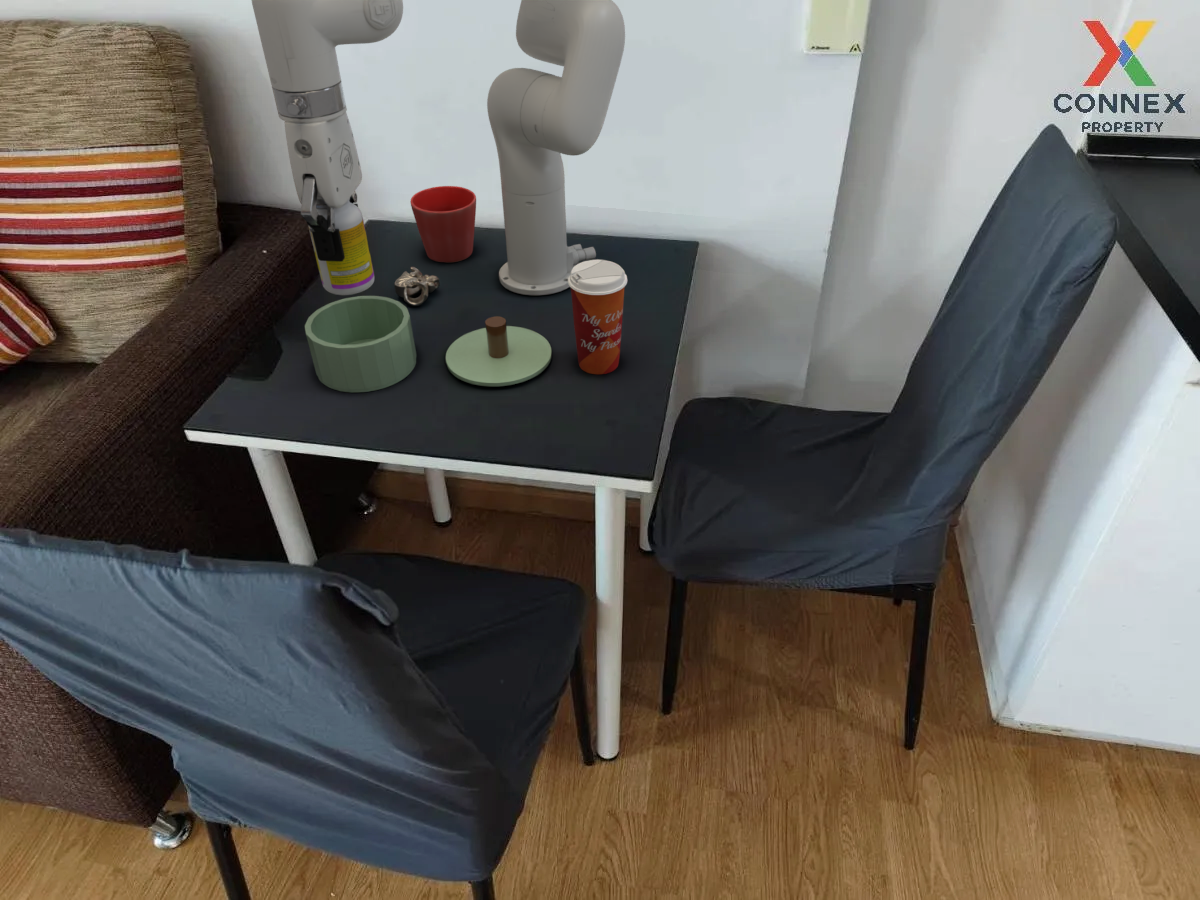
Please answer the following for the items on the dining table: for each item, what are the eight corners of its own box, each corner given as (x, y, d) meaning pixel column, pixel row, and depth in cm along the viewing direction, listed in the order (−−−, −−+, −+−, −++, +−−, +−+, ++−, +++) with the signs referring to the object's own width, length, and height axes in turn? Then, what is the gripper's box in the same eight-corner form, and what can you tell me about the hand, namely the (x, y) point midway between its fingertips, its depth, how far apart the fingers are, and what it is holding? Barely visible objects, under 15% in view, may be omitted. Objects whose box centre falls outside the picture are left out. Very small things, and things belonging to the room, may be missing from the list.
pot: (368, 329, 127) (359, 286, 122) (436, 357, 121) (430, 313, 116) (295, 372, 118) (283, 327, 114) (364, 404, 112) (354, 358, 108)
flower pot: (492, 243, 149) (487, 189, 142) (464, 271, 141) (457, 215, 134) (437, 235, 151) (430, 181, 145) (406, 262, 143) (397, 206, 137)
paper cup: (586, 384, 115) (584, 290, 106) (561, 357, 120) (557, 265, 111) (637, 369, 118) (639, 276, 109) (611, 343, 123) (610, 252, 114)
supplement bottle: (386, 283, 112) (368, 187, 104) (344, 302, 108) (322, 204, 100) (354, 268, 115) (335, 174, 107) (312, 286, 111) (289, 190, 103)
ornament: (445, 303, 132) (442, 281, 130) (400, 311, 131) (397, 289, 128) (436, 280, 138) (432, 259, 136) (393, 287, 137) (389, 266, 134)
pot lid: (493, 323, 128) (489, 285, 124) (572, 352, 121) (571, 313, 117) (424, 368, 118) (418, 329, 114) (506, 402, 112) (502, 362, 108)
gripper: (316, 125, 90) (349, 280, 101) (365, 77, 103) (389, 218, 115) (247, 124, 91) (287, 278, 102) (304, 77, 104) (334, 217, 115)
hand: (341, 245), depth 108 cm, fingers closed on supplement bottle, 6 cm apart
